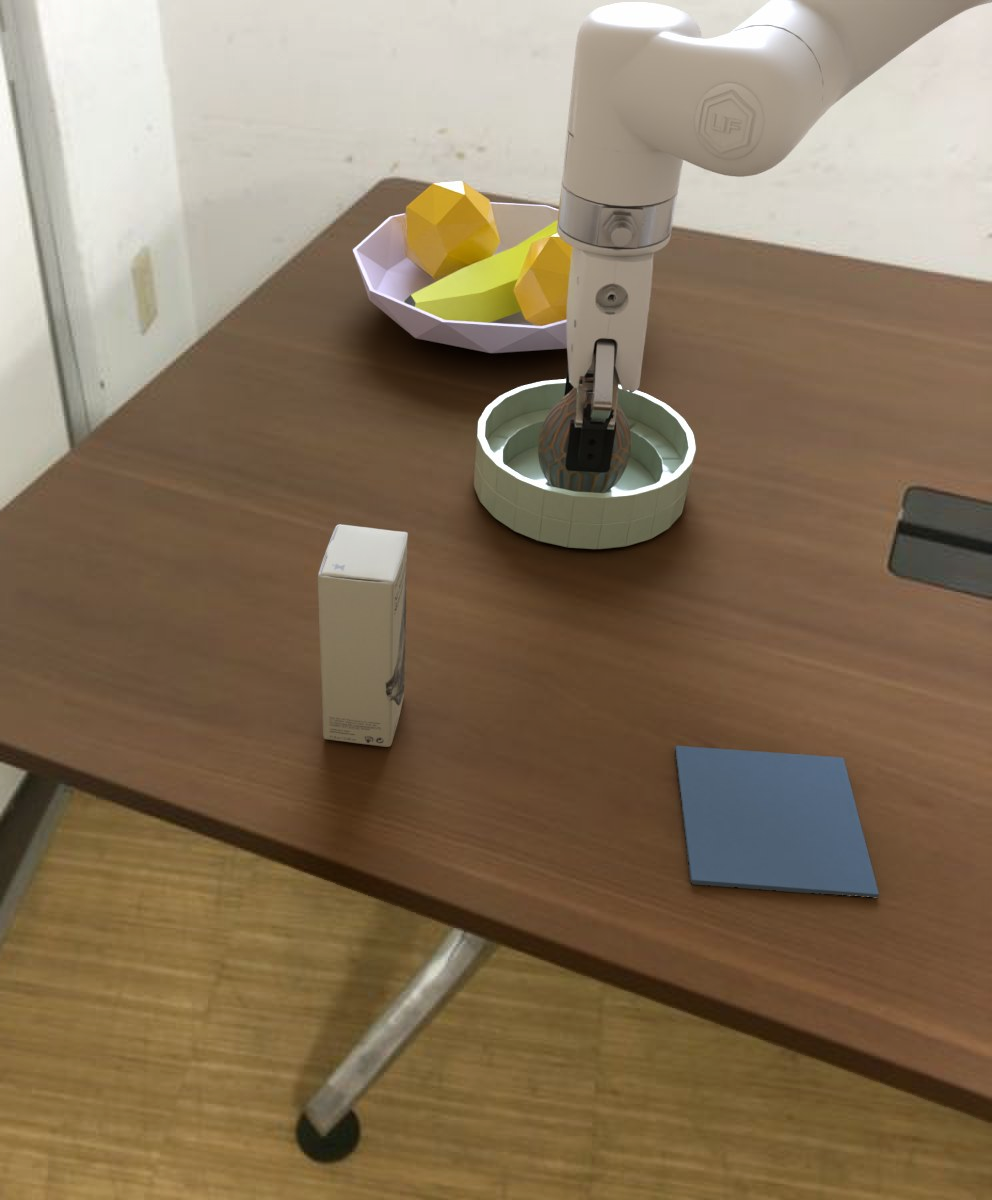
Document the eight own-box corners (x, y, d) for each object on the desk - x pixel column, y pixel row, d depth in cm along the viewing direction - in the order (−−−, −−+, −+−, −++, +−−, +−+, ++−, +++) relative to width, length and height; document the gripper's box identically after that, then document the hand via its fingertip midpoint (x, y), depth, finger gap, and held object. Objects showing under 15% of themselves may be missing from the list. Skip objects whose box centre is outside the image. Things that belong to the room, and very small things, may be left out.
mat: (842, 761, 75) (843, 757, 75) (877, 899, 67) (879, 894, 67) (674, 749, 75) (675, 745, 75) (690, 884, 68) (691, 879, 67)
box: (391, 751, 75) (395, 586, 67) (320, 741, 75) (314, 577, 67) (406, 691, 79) (411, 528, 71) (338, 682, 79) (335, 519, 71)
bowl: (674, 438, 102) (684, 385, 99) (694, 560, 90) (706, 503, 86) (477, 426, 103) (480, 373, 100) (469, 546, 90) (473, 489, 87)
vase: (552, 451, 99) (564, 353, 94) (635, 473, 97) (652, 375, 92) (520, 496, 95) (530, 395, 89) (607, 520, 92) (623, 419, 87)
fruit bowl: (390, 403, 105) (393, 278, 98) (336, 265, 126) (334, 153, 118) (700, 373, 110) (724, 252, 103) (599, 244, 130) (613, 136, 123)
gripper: (686, 273, 75) (643, 511, 86) (662, 164, 88) (628, 384, 100) (561, 266, 75) (535, 504, 87) (556, 160, 89) (534, 378, 100)
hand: (585, 438), depth 93 cm, fingers open, 7 cm apart
